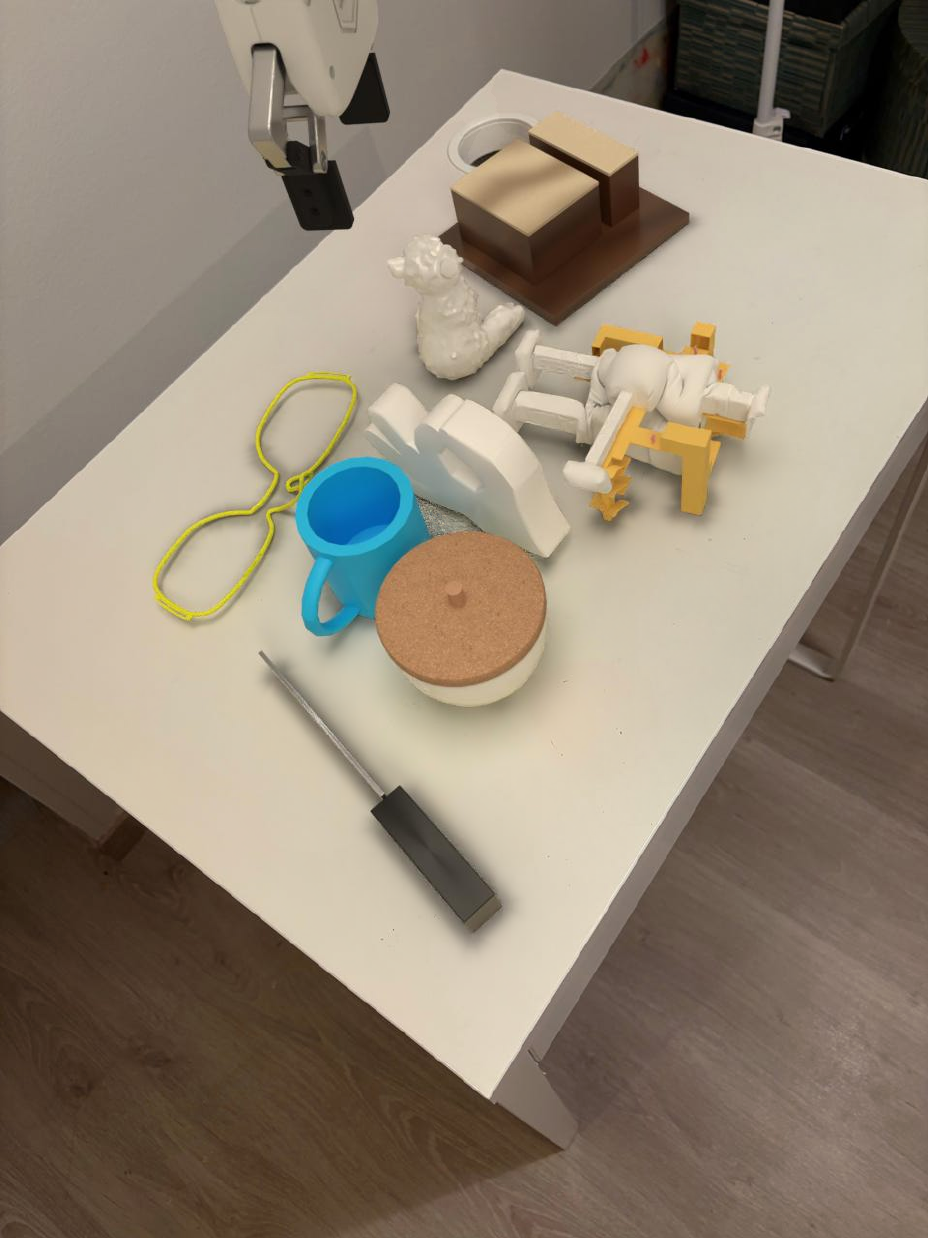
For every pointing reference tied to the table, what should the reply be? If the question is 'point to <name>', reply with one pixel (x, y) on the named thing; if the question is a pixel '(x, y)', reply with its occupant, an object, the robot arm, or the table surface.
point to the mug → (355, 535)
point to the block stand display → (549, 230)
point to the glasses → (300, 477)
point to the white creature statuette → (451, 310)
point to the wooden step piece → (593, 162)
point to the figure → (634, 409)
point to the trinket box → (464, 617)
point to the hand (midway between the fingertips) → (348, 171)
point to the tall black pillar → (421, 840)
